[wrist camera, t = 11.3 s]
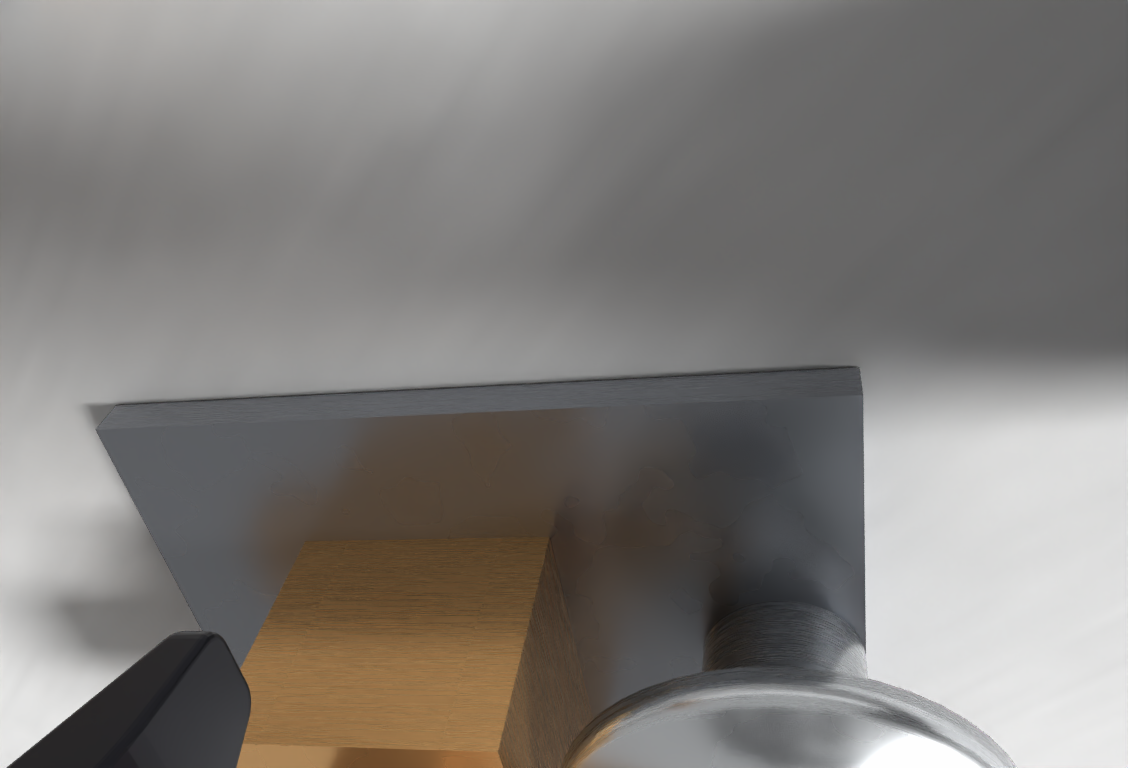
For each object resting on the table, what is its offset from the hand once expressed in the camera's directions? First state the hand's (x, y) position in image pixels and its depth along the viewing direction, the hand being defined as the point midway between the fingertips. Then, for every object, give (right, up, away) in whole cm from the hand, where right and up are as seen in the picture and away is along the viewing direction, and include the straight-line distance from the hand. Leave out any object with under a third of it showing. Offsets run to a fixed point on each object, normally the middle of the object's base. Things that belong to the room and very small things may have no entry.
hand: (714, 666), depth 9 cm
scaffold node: (-1, -4, +19) cm, 20 cm away
